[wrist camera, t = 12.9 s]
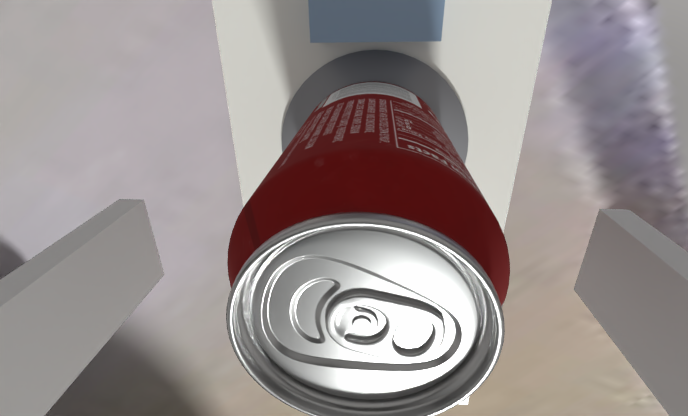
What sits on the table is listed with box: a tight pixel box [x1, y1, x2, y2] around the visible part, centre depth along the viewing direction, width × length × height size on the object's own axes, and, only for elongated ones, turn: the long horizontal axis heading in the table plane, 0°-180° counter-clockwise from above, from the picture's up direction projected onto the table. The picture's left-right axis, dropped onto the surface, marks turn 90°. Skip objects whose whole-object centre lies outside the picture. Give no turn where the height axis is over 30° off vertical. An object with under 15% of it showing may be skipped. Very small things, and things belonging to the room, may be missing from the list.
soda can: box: [226, 81, 510, 416], centre depth 13 cm, size 7×7×12 cm
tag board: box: [212, 0, 552, 405], centre depth 20 cm, size 26×14×4 cm, turn 2°
